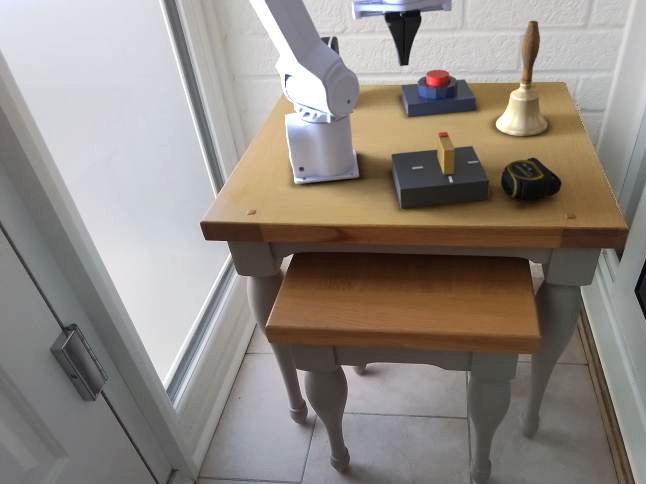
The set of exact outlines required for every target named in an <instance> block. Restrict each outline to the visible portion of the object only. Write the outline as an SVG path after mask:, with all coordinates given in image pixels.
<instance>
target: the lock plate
mask: <svg viewBox="0 0 646 484" xmlns="http://www.w3.org/2000/svg"><path fill="white" fill-rule="evenodd" d="M437 150H438V148H437V149H429V150H427V149H426V150H417V151H407V152H400V153H399V152H398V153H391V172H392V173H391V174H392V177H393V182H394V186H395V189H396V193H397V198H398V202H399V207H400V209H410V208H417V207H418V208H419V207H428V206H438V205H447V204H457V203H465V202H477V201H484V200H485V201H486V200H488V199H489V191H490V178H489V177H488V174H487V172H486V171H485V168H484V166H483V164H482V162H481V161H480V158H479V156H478V155H477V152H476V150H475V148H474V147H473V145H469V146H458V147H454V150H455V153H454V174H446V175H444V174H443V172H442V169H441V166H440V163H439V160H438V157H437Z"/></svg>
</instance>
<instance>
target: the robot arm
mask: <svg viewBox="0 0 646 484" xmlns="http://www.w3.org/2000/svg"><path fill="white" fill-rule="evenodd" d="M249 1H250V3H251V5H252V7H253V9H254V10H255V12H256V14H257V16H258V18H259V19H260V21H261V22H262V24H263V26H264V28H265V29H266V31H267V33H268V35H269V36H270V39H271V40H272V42H273V43H274V46H275V47H276V49H277V51H278V52H279V54H280V56H279V58H278V61H277V62H276V65H275V68H276V70H277V71H278V73H279V75H280V78H281V85H282V89H283V92H284V95H285V97H286V98H287V99H288V100H289V101H290V102H292V103H293V105H294V111H296V112H294V113H289V114H286V115H285V116H284V117H285V119H284V120H285V131H286V140H287V147H288V150H289V161H290V164H291V167H292V173H293V178H294V183H295V184H297V185H299V184H309V183H318V182H319V183H320V182H328V181H329V182H330V181H338V180H339V181H340V180H347V179H357V178H359V177H360V172H359V166H358V159H357V152H356V150H354V142H353V132H352V123H351V114H353V113H354V109H355V108H356V105H357V103H358V100H359V97H360V82H359V79H358V76H357V75H356V73H355V72H354V71H353V70H351V69H349V68H348V67H347V66H346V64H345V62H344V60H343V58H342V56H341V55H340V54H339V55H340V56H339V55H338V54H337V53H336V52H335V51H334V50H332V49H331V48H330V47H329V46H328V45H326V44H325V43H324V42H323V41H322V40H321V36H320V34H319V31H318V29H317V28H316V25H315V24H314V21H313V19H312V17H311V15H310V13H309V11H308V9H307V7H306V4H305V3H304V0H249ZM452 5H453V0H356V1H352V2H351V7H352V18H353V20H361V19H362V18H372V17H382V16H383V19H384V22H385V24H386V27H387V28H388V30H389V33H390V35H391V37H392V40H393V43H394V47H395V50H396V53H397V54H396V55H397V62H398V65H399V67H405V66H406V67H407V66H409V64H410V57H411V52H412V48H413V44H414V41H415V38H416V35H417V33H418V31H419V29H420V27H421V24H422V21H423V18H422V17H423V16H422V15H421V14H422V13H428V12H440V11H443V12H451V11H452Z"/></svg>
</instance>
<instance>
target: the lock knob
mask: <svg viewBox="0 0 646 484" xmlns="http://www.w3.org/2000/svg"><path fill="white" fill-rule="evenodd" d="M454 148H455V147H454V145H453V142H452V140H451V137H450V134H449V133H448V131H441V132H438V133H437V149H438V150H437V149H436V150H437V157H438V160H439V163H440V166H441V169H442V172H443V174H444V175H446V174H454V153H455V150H454Z"/></svg>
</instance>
